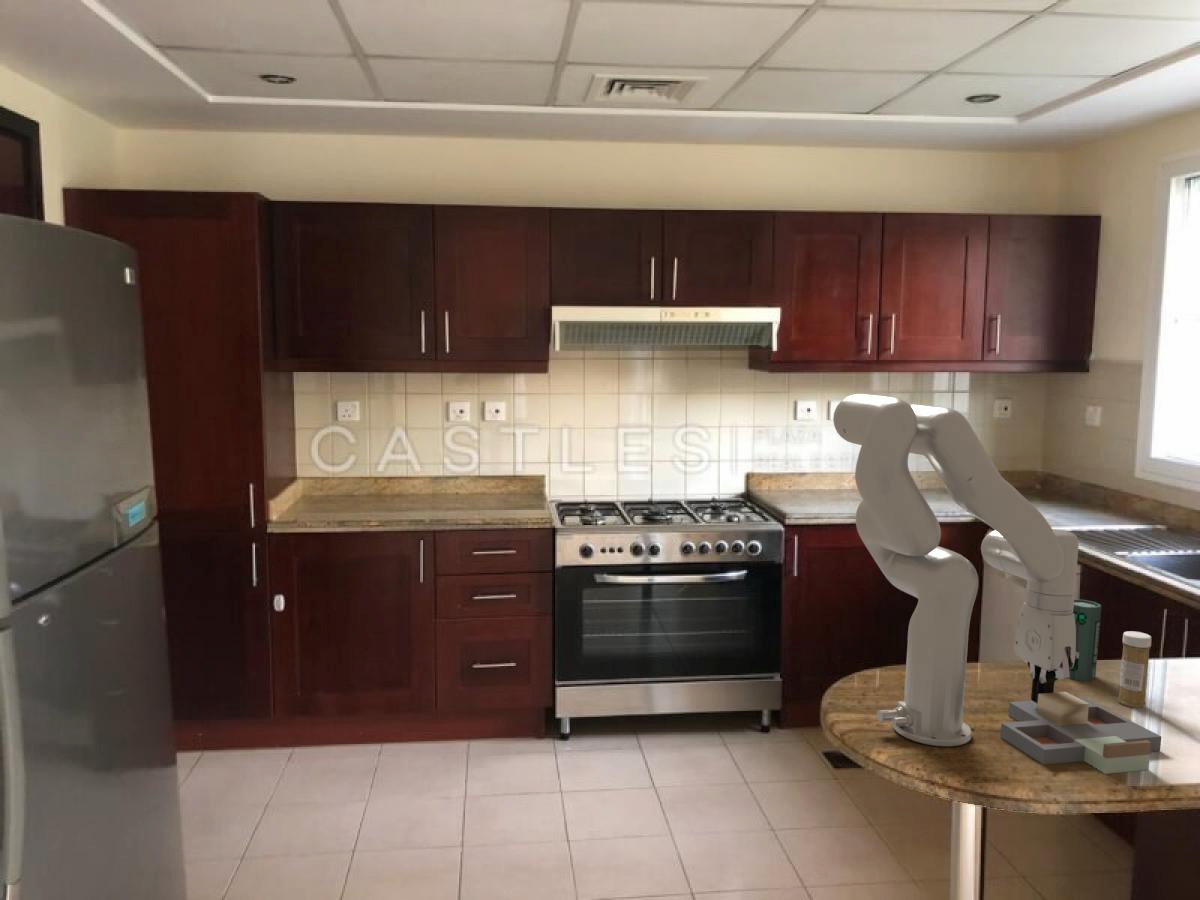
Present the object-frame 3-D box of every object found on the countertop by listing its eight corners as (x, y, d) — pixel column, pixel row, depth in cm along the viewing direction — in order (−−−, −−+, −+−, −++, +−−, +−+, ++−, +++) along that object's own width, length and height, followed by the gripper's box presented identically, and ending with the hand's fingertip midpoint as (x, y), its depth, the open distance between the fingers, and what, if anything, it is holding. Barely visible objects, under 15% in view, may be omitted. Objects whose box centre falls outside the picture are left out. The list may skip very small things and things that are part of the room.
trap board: (1063, 777, 141) (1065, 749, 141) (971, 718, 163) (973, 694, 163) (1188, 765, 146) (1190, 738, 146) (1082, 709, 169) (1084, 686, 168)
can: (1058, 668, 191) (1064, 598, 189) (1091, 672, 189) (1097, 601, 187) (1063, 678, 185) (1069, 605, 183) (1097, 682, 183) (1103, 609, 181)
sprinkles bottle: (1150, 705, 172) (1156, 635, 170) (1137, 710, 169) (1144, 639, 167) (1124, 697, 175) (1131, 628, 174) (1112, 702, 173) (1118, 632, 171)
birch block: (1059, 726, 155) (1061, 706, 154) (1036, 713, 160) (1038, 693, 160) (1087, 723, 156) (1088, 703, 156) (1063, 710, 161) (1065, 691, 161)
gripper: (1002, 590, 167) (995, 688, 169) (1062, 613, 152) (1053, 720, 154) (1038, 588, 169) (1030, 685, 171) (1100, 611, 154) (1091, 717, 156)
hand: (1041, 701), depth 163 cm, fingers closed
